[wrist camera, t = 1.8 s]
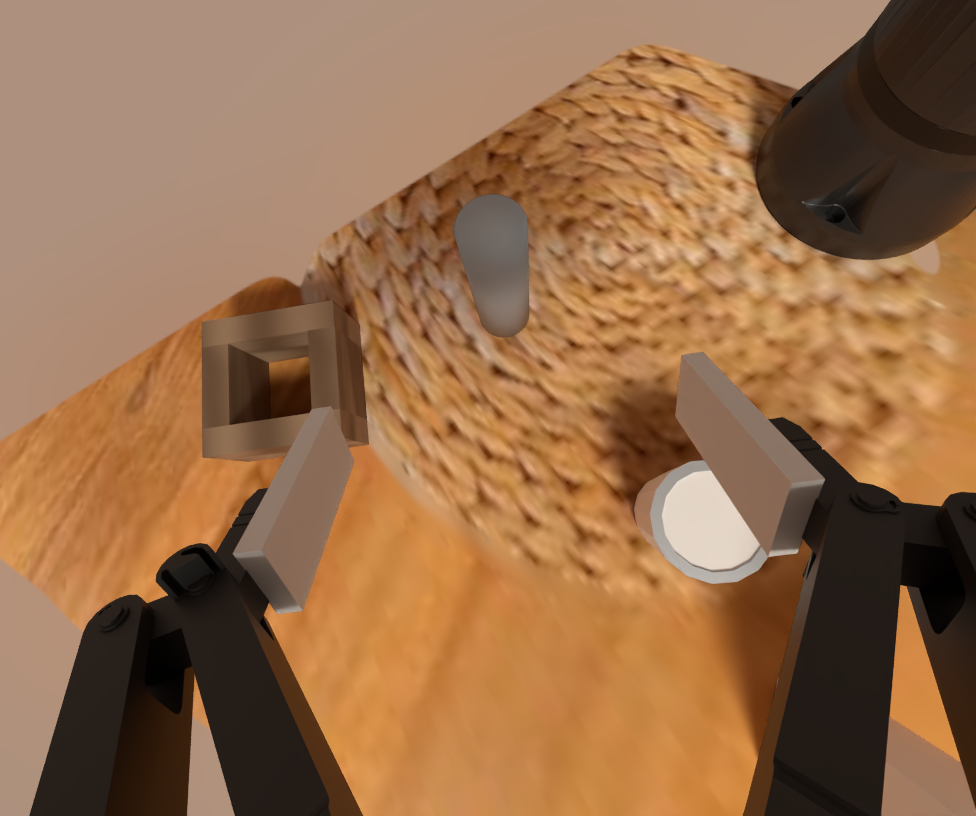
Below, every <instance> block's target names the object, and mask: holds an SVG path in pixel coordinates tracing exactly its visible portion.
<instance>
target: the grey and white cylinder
mask: <svg viewBox="0 0 976 816" xmlns="http://www.w3.org/2000/svg"><path fill="white" fill-rule="evenodd" d="M634 513H635V519H636V525H637V527H638V528H639V530H640V532H641V533H642V535H643V537H644V538H645V539H646V540H647V541H648V542H649V543H650V544H651V545H652V546H653V547H654V548H655V549H656V550H657V551H658V552H659V553H660V554H661V555H662V556H663V557H665V558H666V559H667V560H668V561H669V562H670V563H672V564H673V565H674V566H675V567H677V568H678V569H679V570H680V571H682V572H683V573H684V574H685V575H687V576H689V577H692V578H695V579H698V580H701V581H704V582H708V583H711V584H717V583H729V582H738V581H740V580H741V579H743V578H745V577H747V576H749V575H751V574H752V573H754V572H756V571H758V570H759V569H760V568H761V566H762V565H763V563H764V562H765V561H766V559H767V558H768V556H767V554H766V553H765V551H764V550H763V548H762V547H761V545H760V544H759V542H758V541H757V539H756V538H755V536H754V535H753V533H752V532H751V530H750V529H749V527H748V526H747V524H746V523H745V521H744V520H743V518H742V517H741V515H740V514H739V512H738V511H737V509H736V508H735V506H734V505H733V503H732V502H731V500H730V499H729V497H728V496H727V494H726V492H725V491H724V489H723V488H722V486H721V485H720V483H719V482H718V480H717V479H716V477H715V476H714V474H713V473H712V471H711V470H710V468H709V467H708V465H707V464H706V462H705V461H704V460H701V461H691V462H688V463H686V464H683V465H681V466H679V467H677V468H674V469H672V470H670V471H668V472H666V473H663V474H661V475H659V476H657V477H656V478H654V479H652V480H650V481H648V482H647V483H646V484H645V485H644V486H643V488H642V489H641V490H640V492H639V493H638V494H637V498H636V502H635V506H634Z"/></svg>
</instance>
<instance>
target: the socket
mask: <svg viewBox="0 0 976 816" xmlns="http://www.w3.org/2000/svg"><path fill="white" fill-rule="evenodd" d="M308 356H309V368H310V387H311V406H312V409H316V408H323V407H329V406H331V407H332V409H333V412H334V414H335V416H336V419H337V421H338V424H339V426H340V428H341V431H342V433H343V435H344V438H345V440H346V442H347V445H348V447H355V446H362V445H369V442H368V429H367V416H366V403H365V390H364V377H363V364H362V351H361V338H360V325H359V324H358V323H357V322H356V321H354V320H353V319H352V318H351V317H350V316H349V315H348V314H347V313H346V312H345V311H344V310H343V309H342V308H341V307H340V306H339V305H337V304H336V303H335V302H334V301H333V300H330V301H324V302H318V303H312V304H306V305H300V306H294V307H288V308H282V309H276V310H270V311H264V312H258V313H252V314H246V315H240V316H234V317H228V318H222V319H216V320H210V321H204V322H202V450H203V458H214V459H225V460H236V461H247V462H249V461H256V460H263V459H270V458H277V457H284V456H286V455H287V453H288V452H289V450H290V448H291V446H292V444H293V442H294V441H295V439H296V437H297V435H298V433H299V432H300V430H301V428H302V426H303V424H304V422H305V421H306V419H307V417H308V415H309V413H307V414H300V415H294V416H287V417H280V418H273V419H270V391H269V363H270V362H276V361H283V360H289V359H295V358H302V357H308Z"/></svg>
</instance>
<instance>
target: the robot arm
mask: <svg viewBox="0 0 976 816" xmlns="http://www.w3.org/2000/svg"><path fill="white" fill-rule="evenodd" d="M757 178H758V184H759V188H760V191H761V194H762V196H763V199H764V201H765V203H766V205H767V207H768V208H769V210H770V212H771V213H772V214H773V216H774V217H775V218H776V219H777V221H778V222H779V223H780V224H781V225H782V226H783V227H784V228H785V229H786V230H787V231H789V232H790V233H791V234H792V235H794V236H795V237H796V238H798V239H799V240H801V241H802V242H804V243H806V244H808V245H809V246H811V247H814V248H816V249H818V250H820V251H823V252H826V253H829V254H832V255H836V256H839V257H845V258H851V259H861V260H875V259H885V258H891V257H896V256H900V255H904V254H907V253H910V252H912V251H914V250H917V249H919V248H921V247H923V246H925V245H926V244H928V243H930V242H931V241H933V240H934V239H936V238H938V237H939V236H941V235H943V234H944V233H946V232H947V231H949V230H951V229H952V228H954V227H955V226H956V225H958V224H959V223H960V222H962V221H963V220H964V219H965V218H966V217H968V216H969V215H970V214H971V213H972V212H973V211H974V210H975V209H976V0H891V1H890V2H889V3H888V5H887V6H886V8H885V9H884V11H883V12H882V13H881V15H880V16H879V17H878V19H877V20H876V21H875V23H874V24H873V25H872V27H871V28H870V29H869V31H868V32H867V33H866V35H865V36H864V37H863V38H861V39H860V40H859V41H858V42H857V43H855V44H854V45H853V46H852V47H851V48H849V49H848V50H847V51H846V52H844V53H843V54H842V55H841V56H840V57H838V58H837V59H836V60H835V61H834V62H832V63H831V64H830V65H829V66H827V67H826V68H825V69H824V70H823V71H822V72H820V73H819V74H818V75H817V76H816V77H815V78H814V79H813V80H811V81H810V82H808V83H807V84H806V85H805V86H803V87H802V88H801V89H800V90H799V91H798V92H797V93H796V94H794V95H793V97H792V98H791V99H790V100H789V101H788V102H787V103H786V105H785V106H784V107H783V109H782V110H781V111H780V113H779V114H778V116H777V117H776V119H775V120H774V122H773V123H772V125H771V126H770V128H769V130H768V131H767V133H766V135H765V137H764V138H763V141H762V143H761V146H760V149H759V153H758V159H757ZM675 417H676V419H677V420H678V422H679V423H680V425H681V426H682V428H683V429H684V431H685V432H686V434H687V435H688V437H689V438H690V440H691V441H692V443H693V444H694V446H695V447H696V449H697V450H698V452H699V453H700V455H701V456H702V458H703V459H704V461H705V462H706V464H707V465H708V467H709V468H710V470H711V471H712V473H713V474H714V476H715V477H716V479H717V480H718V482H719V483H720V485H721V486H722V488H723V489H724V491H725V492H726V494H727V496H728V497H729V499H730V500H731V502H732V503H733V505H734V506H735V508H736V509H737V511H738V512H739V514H740V515H741V517H742V518H743V520H744V521H745V523H746V524H747V526H748V527H749V529H750V530H751V532H752V533H753V535H754V536H755V538H756V539H757V541H758V542H759V544H760V545H761V547H762V548H763V550H764V551H765V553H766V554H767V556H768V557H771V556H779V555H788V554H797V553H798V550H799V548H800V545H801V542H802V539H804V541H805V542H806V543H807V544H808V546H809V547H810V548H811V550H812V553H811V556H810V558H809V561H808V563H807V566H806V568H805V571H804V573H803V577H805V578H804V582H803V586H802V589H801V593H800V597H799V601H798V605H797V609H796V613H795V617H794V621H793V624H792V628H791V632H790V636H789V640H788V644H787V648H786V652H785V655H784V659H783V663H782V667H781V671H780V675H779V679H778V683H777V687H776V690H775V694H774V698H773V702H772V706H771V710H770V714H769V718H768V721H767V725H766V729H765V733H764V737H763V741H762V745H761V749H760V752H759V756H758V760H757V764H756V768H755V772H754V776H753V780H752V784H751V787H750V791H749V795H748V799H747V803H746V807H745V810H744V813H743V816H881V812H882V800H883V788H884V776H885V764H886V752H887V739H888V727H889V715H890V703H891V691H892V679H893V667H894V655H895V643H896V631H897V619H898V607H899V595H900V585H904V586H907V589H908V592H909V595H910V598H911V602H912V605H913V608H914V611H915V614H916V618H917V621H918V624H919V627H920V631H921V634H922V637H923V640H924V644H925V647H926V650H927V653H928V657H929V660H930V663H931V666H932V669H933V673H934V676H935V679H936V682H937V686H938V689H939V692H940V695H941V699H942V702H943V705H944V708H945V711H946V715H947V718H948V721H949V724H950V728H951V731H952V734H953V737H954V741H955V744H956V747H957V750H958V753H959V757H960V760H961V763H962V766H963V770H964V773H965V776H966V779H967V783H968V786H969V789H970V792H971V796H972V799H973V802H974V805H975V808H976V493H968V492H959V493H955V494H951V495H950V496H949V497H948V498H947V499H946V500H945V501H944V503H943V505H942V506H931V505H922V504H912V503H904V502H901V501H900V500H899V498H898V497H897V496H895V495H893V494H892V493H890V492H889V491H887V490H885V489H883V488H880V487H877V486H875V485H871V484H866V483H860V482H858V481H856V480H855V479H854V478H853V477H852V476H851V475H850V474H849V473H848V472H847V471H846V470H845V469H844V468H843V467H842V466H841V465H840V464H839V463H838V462H837V461H836V460H835V459H834V458H833V457H831V456H830V455H829V454H828V453H827V452H826V451H825V450H822V447H821V446H820V445H819V444H818V443H817V442H816V441H815V440H812V437H811V436H810V435H809V434H808V433H806V432H805V431H804V430H803V429H802V428H801V427H800V426H798V425H796V424H795V423H793V422H791V421H789V420H787V419H785V418H783V417H782V418H775V419H767V418H766V417H765V416H764V415H763V414H762V413H761V412H760V411H759V410H758V409H757V408H756V406H755V405H754V404H753V403H752V402H751V401H750V400H749V399H748V398H747V397H746V396H745V395H744V394H743V393H742V392H741V391H740V390H739V389H738V388H737V387H736V386H735V385H734V384H733V383H732V381H731V380H730V379H729V378H728V377H727V376H726V375H725V374H724V373H723V372H722V371H721V370H720V369H719V368H718V367H717V366H716V365H715V364H714V363H713V362H712V361H711V360H710V359H709V358H708V356H707V355H706V354H705V353H704V352H699V353H692V354H686V355H682V356H681V366H680V375H679V385H678V395H677V404H676V414H675ZM353 463H354V459H353V456H352V454H351V452H350V449H349V447H348V445H347V442H346V440H345V438H344V435H343V433H342V431H341V428H340V426H339V424H338V421H337V419H336V416H335V414H334V412H333V409H332V407H331V406H329V407H323V408H316V409H312V410H311V411H310V413H309V415H308V417H307V419H306V421H305V422H304V424H303V426H302V428H301V430H300V432H299V433H298V435H297V437H296V439H295V441H294V442H293V444H292V446H291V448H290V450H289V452H288V453H287V455H286V457H285V459H284V461H283V463H282V464H281V466H280V468H279V470H278V472H277V474H276V475H275V477H274V479H273V481H272V483H271V485H270V486H269V488H265V489H258V490H257V491H256V492H255V493H254V494H253V495H252V496H251V497H250V498H249V499H248V500H247V501H246V502H245V504H244V506H243V507H242V509H241V511H240V512H239V514H238V515H239V516H238V517H237V518H236V519H235V521H234V523H233V524H232V528H230V529H229V531H228V533H227V535H226V536H225V538H224V540H223V541H222V543H221V545H220V547H219V548H218V550H217V552H216V553H215V552H214V551H213V550H212V548H211V547H210V546H208V545H207V544H202V543H199V544H194V545H190V546H187V547H185V548H183V549H181V550H179V551H178V552H176V553H175V554H173V555H172V556H171V557H169V558H168V559H167V560H166V561H165V562H164V563H163V564H162V565H161V567H160V569H159V571H158V572H157V574H156V582H157V583H158V584H159V586H160V587H161V588H162V589H163V590H164V591H165V592H166V593H167V594H168V596H165V597H163V598H160V599H157V600H155V601H152V602H150V603H146V602H145V601H144V600H143V599H142V598H141V597H139V596H138V595H127V596H124V597H121V598H118V599H116V600H114V601H113V602H111V603H109V604H107V605H106V606H105V607H103V608H102V609H101V610H100V611H98V612H97V613H96V614H95V615H94V617H93V618H92V619H91V620H90V621H89V622H88V624H87V626H86V628H85V630H84V632H83V635H82V639H81V642H80V645H79V649H78V652H77V656H76V659H75V662H74V666H73V669H72V673H71V676H70V679H69V683H68V686H67V690H66V693H65V696H64V700H63V704H62V707H61V710H60V714H59V717H58V721H57V724H56V727H55V730H54V734H53V737H52V741H51V744H50V748H49V751H48V754H47V758H46V761H45V764H44V768H43V771H42V775H41V778H40V782H39V785H38V788H37V792H36V795H35V798H34V802H33V805H32V809H31V812H30V816H187V803H188V802H187V801H188V784H189V766H190V746H191V728H192V710H193V692H194V673H195V677H196V680H197V684H198V687H199V691H200V694H201V698H202V701H203V705H204V708H205V712H206V716H207V719H208V723H209V726H210V730H211V733H212V736H213V740H214V744H215V747H216V751H217V754H218V758H219V761H220V764H221V768H222V772H223V775H224V779H225V782H226V786H227V789H228V793H229V796H230V800H231V803H232V807H233V811H234V814H235V816H363V815H362V812H361V810H360V808H359V806H358V804H357V802H356V800H355V798H354V796H353V794H352V792H351V790H350V788H349V786H348V784H347V782H346V780H345V778H344V776H343V774H342V772H341V770H340V767H339V765H338V763H337V761H336V759H335V757H334V755H333V753H332V751H331V749H330V747H329V745H328V743H327V741H326V739H325V737H324V735H323V733H322V731H321V729H320V727H319V724H318V722H317V720H316V718H315V716H314V714H313V712H312V710H311V708H310V706H309V704H308V702H307V700H306V698H305V696H304V694H303V692H302V690H301V688H300V686H299V684H298V682H297V679H296V677H295V675H294V673H293V671H292V669H291V667H290V665H289V663H288V661H287V659H286V657H285V655H284V653H283V651H282V649H281V647H280V645H279V643H278V641H277V639H276V636H275V634H274V632H273V630H272V628H271V626H270V624H269V622H268V621H267V619H266V618H265V617H264V613H265V610H266V608H267V606H268V603H270V605H271V606H272V607H273V609H274V610H275V611H276V613H277V614H281V613H290V612H299V611H303V609H304V606H305V603H306V600H307V597H308V594H309V591H310V588H311V586H312V583H313V580H314V577H315V574H316V571H317V568H318V565H319V562H320V559H321V556H322V553H323V551H324V548H325V545H326V542H327V539H328V536H329V533H330V530H331V527H332V524H333V521H334V519H335V516H336V513H337V510H338V507H339V504H340V501H341V498H342V495H343V492H344V489H345V487H346V484H347V481H348V478H349V475H350V472H351V469H352V466H353Z"/></svg>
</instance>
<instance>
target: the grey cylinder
mask: <svg viewBox="0 0 976 816" xmlns="http://www.w3.org/2000/svg"><path fill="white" fill-rule="evenodd" d="M454 235H455V239H456V243H457V246H458V249H459V252H460V256H461V259H462V262H463V265H464V269H465V272H466V275H467V278H468V282H469V285H470V288H471V291H472V295H473V298H474V301H475V304H476V308H477V311H478V314H479V317H480V321H481V323H482V325H483V327H484V328H485V329H486V331H488V332H489V333H490V334H492V335H494V336H497V337H510V336H513V335H516V334H517V333H519V332H520V331H521V330H522V329H523V328H524V327H525V326H526V324H527V322H528V319H529V257H528V220H527V216H526V214H525V212H524V210H523V209H522V207H521V206H520V205H519V204H518V203H517V202H516V201H514V200H513V199H511V198H509V197H507V196H503V195H498V194H488V195H483V196H480V197H477V198H475V199H473V200H471V201H470V202H468V203H467V204H466V205H465V206H464V207H463V208H462V209H461V211H460V212H459V214H458V216H457V218H456V221H455V225H454Z"/></svg>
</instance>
